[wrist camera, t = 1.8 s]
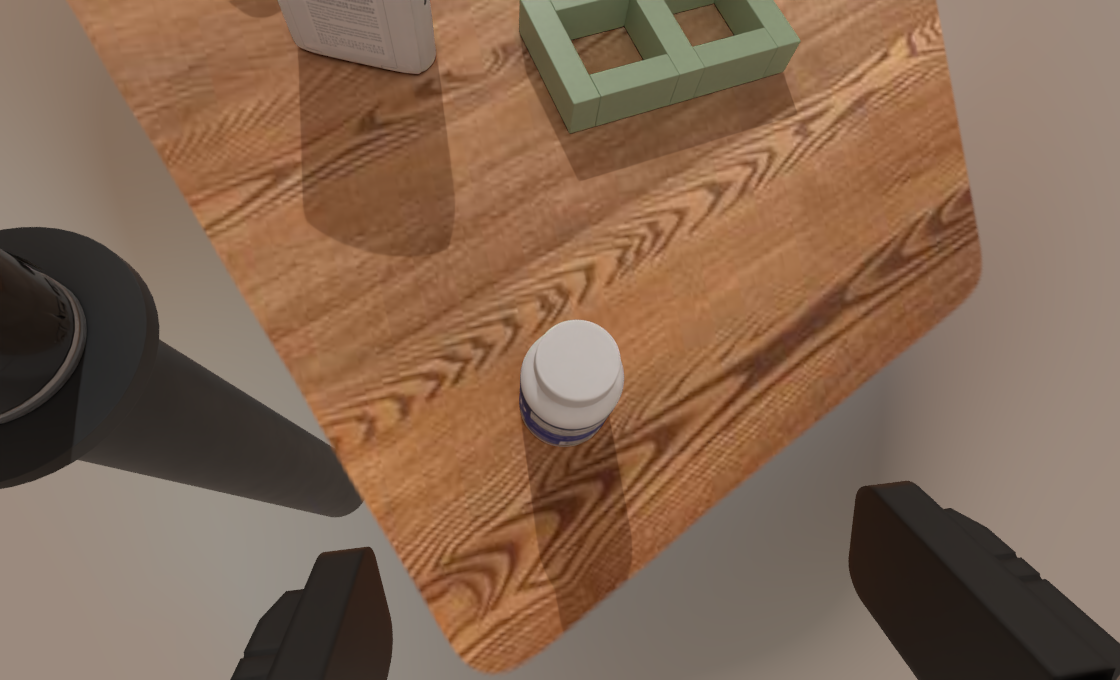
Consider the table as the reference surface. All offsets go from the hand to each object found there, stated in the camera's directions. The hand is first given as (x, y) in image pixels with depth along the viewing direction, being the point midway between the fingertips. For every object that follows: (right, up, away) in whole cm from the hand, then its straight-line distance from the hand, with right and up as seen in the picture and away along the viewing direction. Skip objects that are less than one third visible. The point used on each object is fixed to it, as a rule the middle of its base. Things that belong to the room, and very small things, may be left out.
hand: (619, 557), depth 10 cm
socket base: (+6, +26, +36) cm, 44 cm away
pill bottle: (-1, 0, +26) cm, 26 cm away
